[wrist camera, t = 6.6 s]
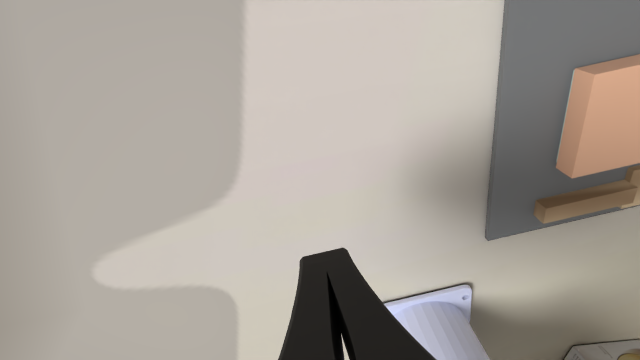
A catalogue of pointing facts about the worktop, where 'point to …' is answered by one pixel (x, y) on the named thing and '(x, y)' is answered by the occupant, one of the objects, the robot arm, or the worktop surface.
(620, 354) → the coffee box
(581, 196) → the tan stepped block
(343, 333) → the robot arm
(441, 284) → the worktop surface
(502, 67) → the mat
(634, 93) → the tile
